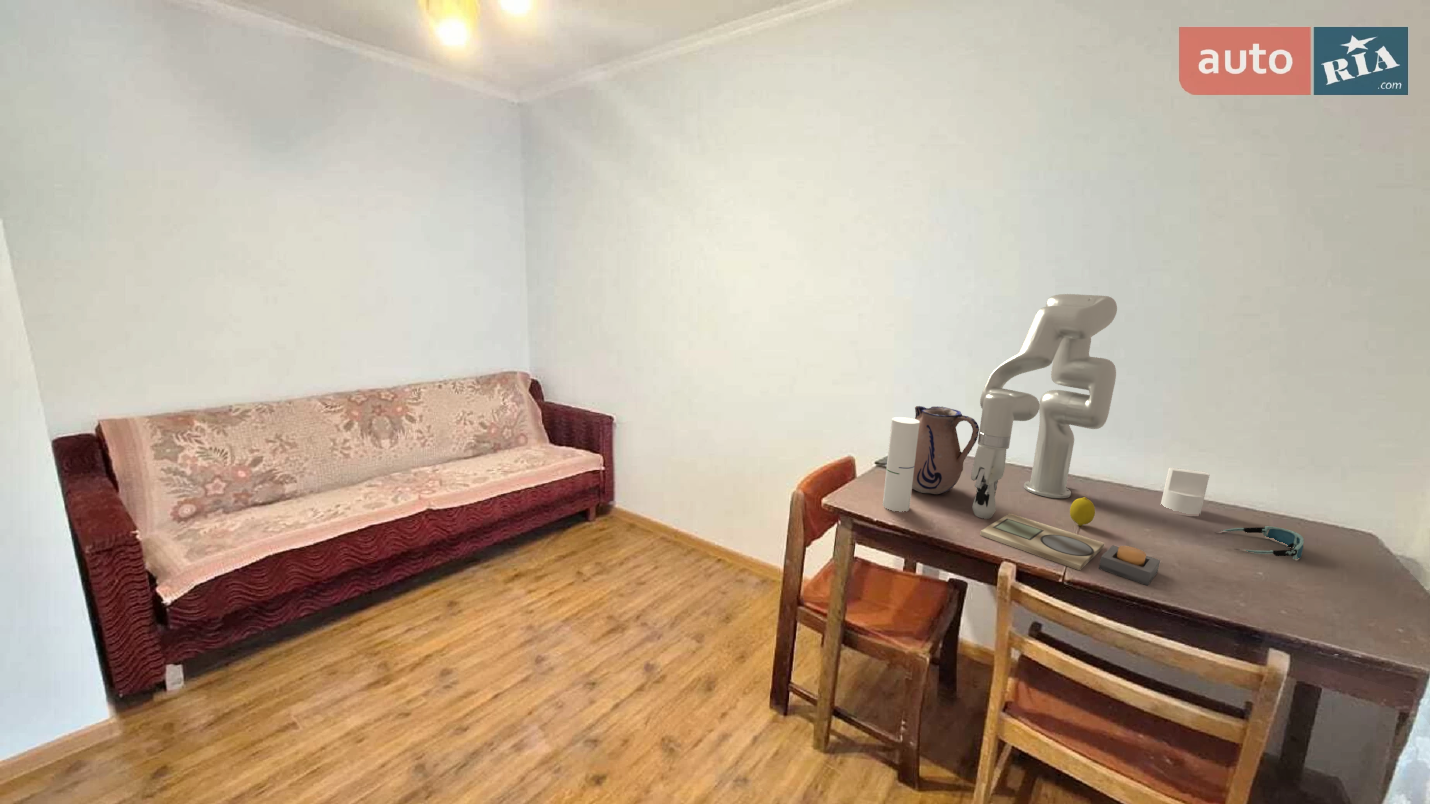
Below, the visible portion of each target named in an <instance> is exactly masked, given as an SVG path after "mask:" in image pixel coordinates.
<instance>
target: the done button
mask: <svg viewBox="0 0 1430 804" xmlns="http://www.w3.org/2000/svg"><path fill="white" fill-rule="evenodd" d="M1118 547H1119V548H1118V553H1117V559H1119V560H1122V561H1125V562H1128V563H1131V564H1134V565H1137V566H1140V567H1143V566H1144V563H1145V558H1146V556H1147V553H1146V552H1145V551H1144V550H1142V549H1139V548H1136V547H1134V546H1129V545H1120V546H1118Z"/></svg>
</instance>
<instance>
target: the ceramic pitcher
mask: <svg viewBox="0 0 1430 804" xmlns="http://www.w3.org/2000/svg"><path fill="white" fill-rule="evenodd" d="M914 409H915V411H914V412H915V415H914V416H915V417H914V419H916V420H918V421H920V423H919V432H918V440H917V448H916V457H915V465H914V474H913V482H912V489H913V491H916V492H918V493H922V494H932V495H933V494H934V495H939V494H943V493H946V492H948V491H950V490H952V489H953V488H954V487H955V485H957V483H958V481H959V479H960V477H961V476H962V472H963V470H964V462H965V460H966V458H967V457H968V455H969V454H970V452H971V451H972V450H973V447H974V446H975V444H976V443H977V441H978V437H979V431H980V425H979V424H978V422H977V421H976V420H975V418H973V417H970V416H968V415H963V413H962V412H961V411H960V410H957V409H954V408H949V407H944V406H931V407H929V408H928V407H925V406H920V405H917V406H915V407H914ZM961 422H966V423H969V424H970V426H971V428H972V429H971V430H972V432H971V436H970V439H969V441H968V442H967V444H966V446H965V447H964V448H963V450H962V451H961V446H960V442H959V436H958V432H957V426H958V425H959V424H960V423H961Z"/></svg>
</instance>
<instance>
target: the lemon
mask: <svg viewBox="0 0 1430 804" xmlns="http://www.w3.org/2000/svg"><path fill="white" fill-rule="evenodd" d="M1069 516H1070V518H1071V520H1072V521H1073V522H1074V523H1076V524H1077V525H1078V526H1079V527H1082V526H1084V525H1088V524H1090V523H1091V522H1092V521H1093V520H1094V518H1095V516H1096V508H1095V504H1094V503H1093V502H1092V501H1091V500H1090V499H1088V498H1087V497H1084V496H1083V497H1079V498H1076V499H1074V500H1073V502H1071V505H1070V508H1069Z"/></svg>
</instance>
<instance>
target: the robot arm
mask: <svg viewBox="0 0 1430 804" xmlns="http://www.w3.org/2000/svg"><path fill="white" fill-rule="evenodd" d="M1117 311H1118V306H1117V303H1116V300H1115V299H1114V298H1113V297H1112V296H1108V295H1099V294H1097V295H1096V294H1094V295H1092V294H1078V293H1077V294H1075V293H1074V294H1073V293H1072V294H1071V293H1063V294H1055V295H1052V296H1050V297H1049V298H1047V300H1046V304H1045V306H1044V307H1041V308H1040V309H1039V310H1037V312H1036V313H1035V315H1034V317H1033V320H1032V322H1031V323H1030V326H1029V329H1028V331H1027V332H1026V335H1025V337H1024V339H1023V342H1022V344H1021V346H1020V349H1019V350H1018V352H1017V353H1016V354H1015V355H1013V356H1011V357H1009V358H1007V359H1006V360H1004V361H1003V362H1002V363H1001V364H999V365H998V366H997V367H996V368H995V369H994V370H993V371H992V372H991V374H990V375H989V377H988V379H987V380H986V383H985V384H984V387H983V388H982V389H983V390H982V392H981V395H980V400H979V406H980V408H981V410H982V411H981V418H980V425H979V432H978V438H977V449H976V452H975V455H974V460H973V464H972V470H971V476H970V480H971V481H975V483H974V488H976V494H975V496H976V500H975V503H976V502H977V503H978V504H979V505H983V504H984V502H986V507H987V506H988V501H989V496H990V495H989V494H988V493H989V488H990V484H991V483H993V482H994V491H995V494H996V491H997V488H998V487H997V486H998V483H999V480H1001V479H1002V478H1003V476H1004V473H1005V468H1006V460H1007V450H1008V449H1010V443H1011V438H1012V437H1011V436H1012V431H1013V424H1014V422H1026V421H1031V420H1032V419H1034V418H1035V417H1036V416H1037V415H1038V413H1039V423H1038V424H1039V426H1038V434H1037V440H1036V445H1035V452H1034V457H1033V464H1032V469H1031V476H1030V480H1026V481H1025V482H1024V483H1023V488H1024V489H1025V490H1026V491H1028V492H1030V493H1032V494H1035V495H1038V496H1041V497H1044V498H1045V497H1046V498H1052V499H1067V498H1070V497H1071V496H1072V492H1071V490H1070V489H1069V488H1067V483H1068V477H1069V474H1070V473H1069V471H1070V467H1071V461H1072V455H1073V450H1074V445H1075V435H1074V432H1073V430H1072V428H1071V426H1074V427H1075V426H1076V427H1080V428H1085V429H1089V430H1098V429H1101V428H1102V427H1104V426H1105V424H1106V422H1107V420H1108V417H1109V413H1110V407H1111V403H1112V398H1113V395H1114V394H1113V393H1114V389H1115V385H1116V379H1117V369H1116V366H1115V363H1114V362H1113V361H1112V360H1110V359H1107V358H1103V357H1097V356H1096V357H1095V356H1090V348H1091V344H1092V337H1093V336H1095V335H1097V334H1098V333H1100V332H1101V331H1103V330H1105V329H1106V328H1107V327H1108V326H1109V325H1111V324H1112V322H1113V321H1114V319H1116V315H1117ZM1049 366H1051V371H1050V372H1051V373H1050V376H1051V378H1050V379H1051V381H1052V382H1053V383H1054V384H1056V385H1058V386H1061V387H1062V386H1063V387H1067V388H1074V389H1080V390H1086V391H1088V394H1085V393H1079V392H1075V391H1069V390H1061V389H1053V390H1052V389H1051V390H1048V391H1045V393H1043V394H1042V395H1041V397H1040V399H1038V398H1037V397H1036V396H1035V395H1033V394H1032V393H1027V392H1023V391H1018V390H1011V389H1007V388H1004V387H1005V385H1006V384H1007V382H1009V381H1010V380H1011V379H1013V378H1015V377H1016V376H1019V375H1021V374H1024V373H1025V374H1026V373H1029V372H1033V371H1036V370H1037V371H1038V370H1040V369H1045V368H1047V367H1049ZM983 480H986V482H984V481H983ZM982 484H983V485H986V488H985V486H983V485H982ZM977 500H978V501H977Z"/></svg>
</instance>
